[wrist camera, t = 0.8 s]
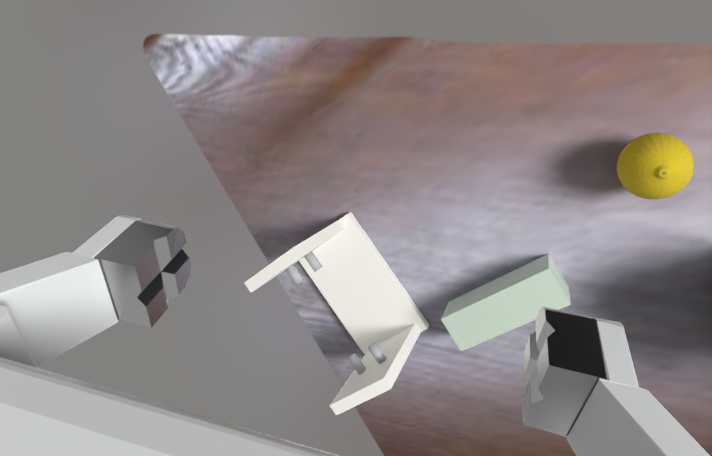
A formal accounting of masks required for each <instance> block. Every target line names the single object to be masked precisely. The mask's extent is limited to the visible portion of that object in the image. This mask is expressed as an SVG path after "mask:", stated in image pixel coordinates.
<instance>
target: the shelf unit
mask: <svg viewBox="0 0 712 456" xmlns="http://www.w3.org/2000/svg"><path fill="white" fill-rule="evenodd" d="M298 261H299V262H300V263H301V264H302V266H303V267H304V269H305V270H306V272H307V273H308V275H309V276H310V277H311V279H312V280H313V282H314V283H315V285H316V286H317V287H318V289H319V290H320V292H321V293H322V295H323V296H324V298H325V299H326V300H327V302H328V303H329V305H330V306H331V308H332V309H333V310H334V312H335V313H336V315H337V316H338V318H339V319H340V320H341V322H342V323H343V325H344V326H345V328H346V329H347V331H348V332H349V333H350V335H351V336H352V338H353V339H354V341H355V342H356V343H357V345H358V346H359V348H360V349H361V351H362V352H363V354H364V357H363V358H362V359H361V361H360V359H359V358H358V356H357V355H356V353H354V354H352V355H351V356H350V357H349V358H348V360H349V361H350V363H351V364H352V366H353V367H354V369H355V370H354V371H353V372H352V374H351V375H350V377H349V378H348V380H347V381H346V382H345V384H344V385H343V387H342V388H341V390H340V391H339V393H338V394H337V396H336V397H335V398H334V400H333V401H332V403H331V404H330V407H331V408H332V410H333V411H334V413H335V414H336V415H338V414H340V413H342V412H344V411H346V410H348V409H351V408H353V407H355V406H357V405H359V404H361V403H363V402H365V401H367V400H369V399H371V398H373V397H375V396H377V395H379V394H381V393H383V392H385V391H387V390H390V389H391V388H392V386H393V384H394V382H395V380H396V378H397V377H398V375H399V373H400V371H401V369H402V367H403V365H404V363H405V361H406V359H407V358H408V356H409V354H410V352H411V350H412V348H413V346H414V344H415V342H416V340H417V338H418V337H419V335H420V333H421V332H422V331H424V330H426V329H428V327H429V323H428V322H427V321H426V319H425V318H424V316H423V315H422V313H421V312H420V311H419V309H418V308H417V306H416V305H415V303H414V302H413V301H412V299H411V298H410V296H409V295H408V293H407V292H406V290H405V289H404V288H403V286H402V285H401V283H400V282H399V280H398V279H397V278H396V276H395V275H394V273H393V272H392V270H391V269H390V267H389V266H388V265H387V263H386V262H385V260H384V259H383V257H382V256H381V255H380V253H379V252H378V250H377V249H376V247H375V246H374V244H373V243H372V242H371V240H370V239H369V237H368V236H367V234H366V233H365V232H364V230H363V229H362V227H361V226H360V224H359V223H358V221H357V220H356V219H355V217H354V216H353V214H352V213H351V212H350V213H348V214H347V215H345V216H344V217H342V218H341V219H339V220H338V221H336V222H334V223H333V224H331V225H329V226H328V227H326V228H324V229H323V230H321V231H319V232H318V233H316V234H314V235H313V236H311V237H309V238H308V239H306V240H304V241H303V242H301V243H300V244H298V245H296V246H295V247H293V248H292V249H290V250H289V251H287V252H286V253H285V254H283V255H282V256H280V257H279V258H278V259H276V260H275V261H274V262H272V263H271V264H269V265H268V266H267V267H265V268H264V269H263V270H261V271H260V272H258V273H257V274H256V275H254V276H253V277H252V278H250V279H249V280H247V281H246V282H245V285H246V286H247V288H248V289H249V291H250V292H251V293H252V292H253V291H254V290H256V289H257V288H259V287H260V286H262V285H263V284H265V283H266V282H268V281H269V280H271V279H272V278H274V277H275V276H277V275H278V274H280V273H281V272H283V271H284V270H286V271H287V272H288V274H289V275H290V277H291V278H292V280H293V281H294V282H295V284H296V285H297V284H298V283H300V282H301V281H302V280H304V279H303V277H302V276H301V274H300V273H299V272H298V270H297V269H296V267H295V266H294V264H295V263H296V262H298Z"/></svg>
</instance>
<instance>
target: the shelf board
mask: <svg viewBox="0 0 712 456" xmlns="http://www.w3.org/2000/svg"><path fill="white" fill-rule="evenodd" d="M569 305H571V301H570V293H569V286H568V284H567V283H566V281H565V280H564V278H563V276H562V275H561V273H560V272H559V270H558V268H557V267H556V265H555V263H554V262H553V260H552V259H551V257H550V255H549V254H546V255H544V256H542V257H540V258H538V259H536V260H534V261H532V262H530V263H528V264H526V265H524V266H522V267H519V268H517V269H515V270H513V271H511V272H509V273H507V274H505V275H503V276H501V277H499V278H497V279H495V280H492V281H490V282H488V283H486V284H484V285H482V286H480V287H478V288H476V289H474V290H472V291H470V292H468V293H465V294H463V295H461V296H459V297H457V298H455V299H453V300H451V301H449V302H448V304H447V307H446V309H445V311H444V313H443V315H442V317H441V320H442V322H443V324H444V325H445V327H446V328H447V330H448V332H449V333H450V335H451V336H452V338H453V340H454V341H455V343H456V344H457V346H458V348H459V349H460V351H463V350H465V349H468V348H470V347H472V346H475V345H477V344H479V343H482V342H484V341H486V340H489V339H491V338H493V337H496V336H498V335H501V334H503V333H505V332H508V331H510V330H512V329H515V328H517V327H519V326H522V325H524V324H526V323H529V322H531V321H533V320H536V317H537V315H538V312H539V311H540V309H541V308H542V307H546V308H551V309H556V310H559V309H562V308H564V307H566V306H569Z"/></svg>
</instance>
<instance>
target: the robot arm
mask: <svg viewBox="0 0 712 456" xmlns="http://www.w3.org/2000/svg"><path fill="white" fill-rule="evenodd" d="M185 244H186V238H185V234H184V231H183V230H181V229H180V228H177V227H173V226H169V225H165V224H161V223H157V222H153V221H149V220H145V219H139V218H135V217H131V216H127V215H121V216H117V217H116V218H114V219H113V220H112V221H111V222H109V223H108V224H107V225H106V226H105V227H103V228H102V229H101V230H100V231H99V232H97V233H96V234H95V235H94V236H92V237H91V238H90V239H89V240H88V241H86V242H85V243H84V244H83V245H82V246H80V247H79V248H78V249H77V250H75V251H74V252H73V253H69V252H65V253H61V254H58V255H56V256H53V257H49V258H46V259H43V260H40V261H37V262H34V263H31V264H28V265H25V266H22V267H19V268H16V269H13V270H9V271H6V272H3V273H0V456H339V455H336V454H332V453H329V452H325V451H322V450H319V449H315V448H312V447H308V446H305V445H301V444H298V443H294V442H291V441H287V440H284V439H280V438H277V437H273V436H270V435H267V434H263V433H259V432H256V431H253V430H249V429H245V428H242V427H239V426H235V425H232V424H229V423H225V422H222V421H218V420H215V419H211V418H207V417H204V416H201V415H197V414H194V413H191V412H187V411H184V410H180V409H177V408H173V407H170V406H166V405H163V404H159V403H156V402H153V401H149V400H146V399H142V398H139V397H136V396H132V395H128V394H125V393H122V392H118V391H115V390H112V389H108V388H104V387H101V386H98V385H94V384H91V383H88V382H84V381H81V380H77V379H74V378H70V377H67V376H63V375H60V374H56V373H53V372H49V371H46V370H43V369H39V368H38V366H40V365H42V364H44V363H45V362H47V361H49V360H51V359H52V358H54V357H56V356H58V355H60V354H61V353H63V352H65V351H67V350H69V349H71V348H72V347H74V346H76V345H78V344H80V343H81V342H83V341H85V340H87V339H89V338H90V337H92V336H94V335H95V334H97V333H99V332H101V331H103V330H105V329H107V328H108V327H110V326H112V325H114V324H116V323H117V322H118V320H120V321H124V322H129V323H133V324H137V325H142V326H146V327H150V328H151V327H153V325H154V324H155V323H156V322H157V320H158V319H159V318H160V317H161V316H162V315H163V313H164V312H165V311H166V310H167V308H168V301H167V300H168V299H170V298H172V297H175V296H177V295H179V294H180V293H181V291H182V290H183V289H184V287H185V286H186V283H187V281H188V278H189V276H190V266H191V265H190V259H189V257H188V255H187V254H186V253H185V252H184V250H183V249H182V248H183V246H184V245H185ZM535 321H536V332H534V333H532V334H531V335H530V336H529V338H528V341H527V344H526V348H525V352H524V357H523V366H522V379H523V380H524V382H525V383H526V384H527V386H526V389H525V391H524V394H523V396H522V399H523V424H524V425H527V426H531V427H534V428H538V429H541V430H545V431H548V432H552V433H555V434H558V435H562V436H565V437H567V441H568V442H569V444H570V446H571V447H572V449H573V451H574V453H575V454H576V456H710V455H709V454H708V453H707V452H706V451H705V450H704V449H703V448H702V447H701V446H700V445H699V444H698V443H697V442H696V441H695V440H694V439H693V437H692V436H691V435H690V434H689V433H688V432H687V431H686V430H685V429H684V428H683V427H682V426H681V425H680V424H679V423H678V422H677V421H676V420H675V419H674V417H673V416H672V415H671V414H670V413H669V412H668V411H667V410H666V409H665V408H664V407H663V406H662V405H661V404H660V403H659V402H658V401H657V400H656V399H655V397H654V396H653V395H652V394H651V393H650V392H649V391H648V390H646V389H642V388H639V385H638V382H637V378H636V374H635V370H634V366H633V362H632V358H631V354H630V350H629V346H628V342H627V338H626V334H625V330H624V326H623V325H622V324H621V323H620V322H616V321H611V320H606V319H601V318H596V317H593V318H592V317H589V316H584V315H579V314H575V313H570V312H565V311H560V310H556V309H551V308H546V307H542V308H541V309H540V311H539V312H538V315H537V317H536V320H535Z"/></svg>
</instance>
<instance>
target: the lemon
mask: <svg viewBox="0 0 712 456" xmlns="http://www.w3.org/2000/svg"><path fill="white" fill-rule="evenodd" d="M693 169H694V160H693V156H692V154H691V151H690V149H689V148H688V147H687V146H686V145H685V143H684V142H682V141H681V140H679V139H678V138H676V137H674V136H671V135H668V134H663V133H651V134H645V135H643V136H640V137H637V138H636V139H634V140H632V141H631V142H629V143H628V144H627V145H626V146H625V147H624V148H623V150H622V152H621V153H620V155H619V158H618V161H617V174H618V178H619V180H620V182H621V183H622V185H623V186H624V187H625V188H626V189H627V190H628V191H629V192H631V193H632V194H634V195H636V196H638V197H642V198H646V199H661V198H667V197H669V196H672V195H674V194H676V193H677V192H679V191H680V190H682V189H683V188H684V187H685V186H686V185H687V183H688V182H689V180H690V178H691V177H692V174H693Z"/></svg>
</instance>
